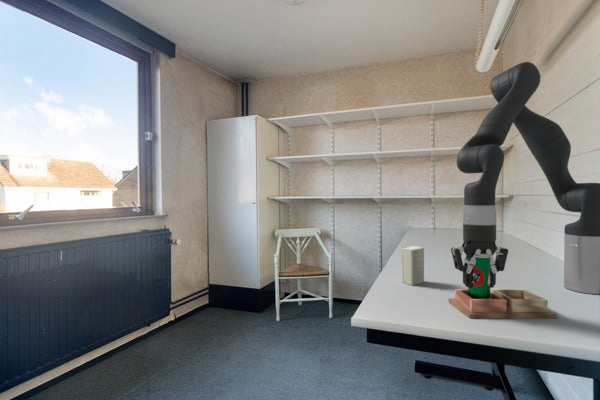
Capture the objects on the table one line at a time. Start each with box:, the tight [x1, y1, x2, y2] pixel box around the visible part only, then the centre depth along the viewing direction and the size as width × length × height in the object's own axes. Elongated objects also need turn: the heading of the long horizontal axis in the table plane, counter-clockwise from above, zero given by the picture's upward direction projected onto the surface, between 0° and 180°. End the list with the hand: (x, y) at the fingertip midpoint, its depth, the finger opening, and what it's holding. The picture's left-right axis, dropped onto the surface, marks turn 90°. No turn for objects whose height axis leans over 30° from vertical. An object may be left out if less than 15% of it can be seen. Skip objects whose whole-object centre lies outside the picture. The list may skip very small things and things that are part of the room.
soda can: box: [467, 253, 491, 299], centre depth 80 cm, size 5×5×12 cm
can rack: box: [447, 288, 557, 319], centre depth 80 cm, size 21×11×4 cm, turn 89°
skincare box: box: [401, 245, 425, 286], centre depth 104 cm, size 6×4×12 cm
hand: (479, 286), depth 80 cm, fingers closed on soda can, 5 cm apart
